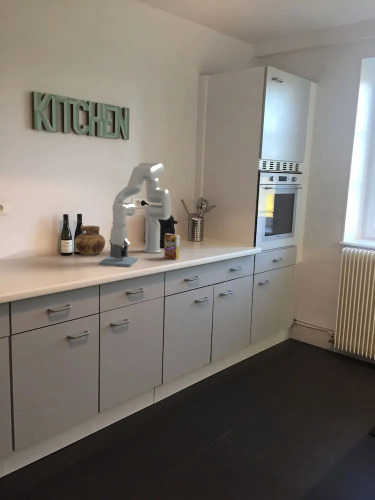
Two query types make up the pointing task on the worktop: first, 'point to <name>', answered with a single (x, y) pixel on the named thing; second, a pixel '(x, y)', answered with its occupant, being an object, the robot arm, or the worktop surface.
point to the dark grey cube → (117, 251)
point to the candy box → (172, 246)
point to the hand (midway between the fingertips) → (119, 255)
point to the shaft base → (118, 261)
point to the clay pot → (90, 241)
